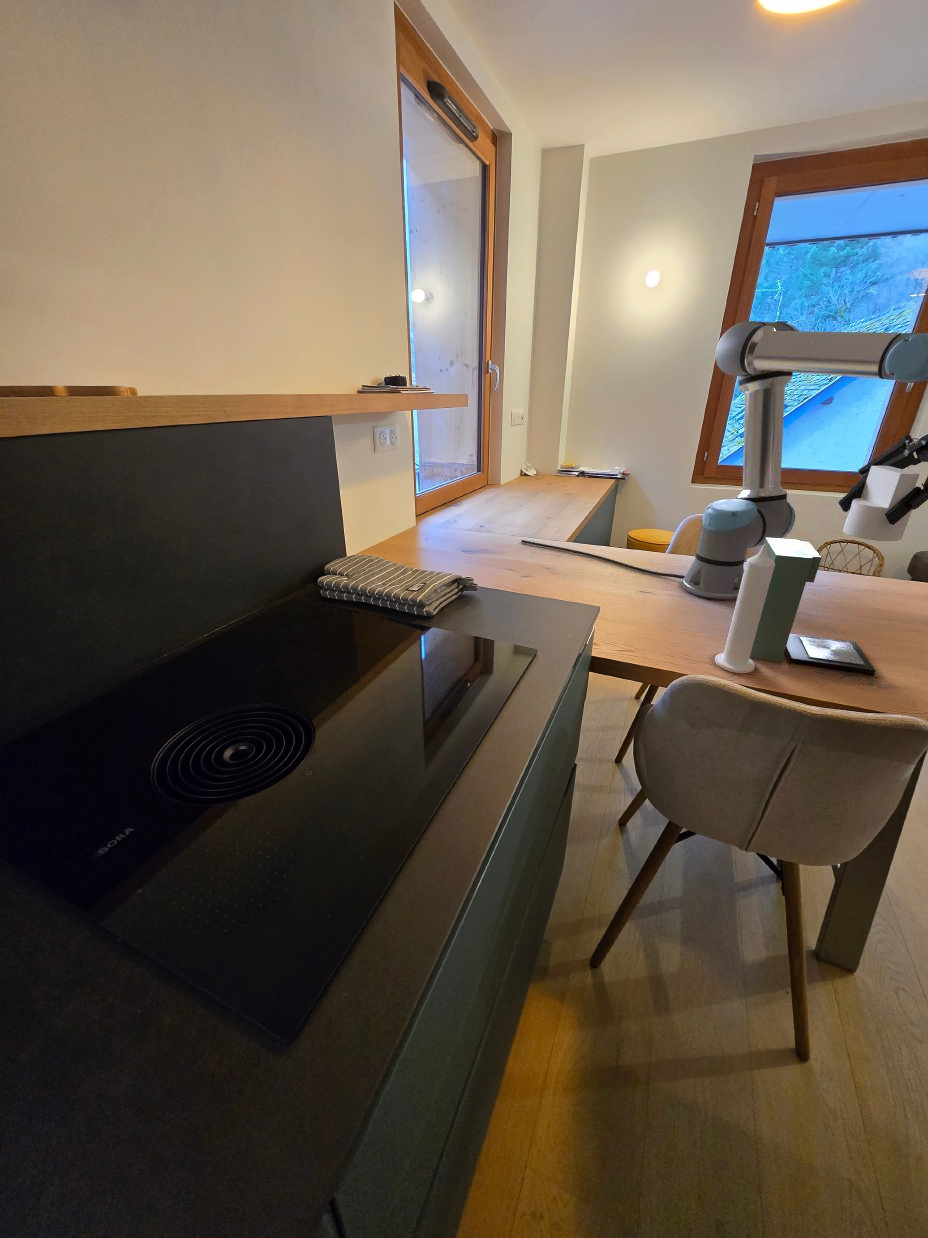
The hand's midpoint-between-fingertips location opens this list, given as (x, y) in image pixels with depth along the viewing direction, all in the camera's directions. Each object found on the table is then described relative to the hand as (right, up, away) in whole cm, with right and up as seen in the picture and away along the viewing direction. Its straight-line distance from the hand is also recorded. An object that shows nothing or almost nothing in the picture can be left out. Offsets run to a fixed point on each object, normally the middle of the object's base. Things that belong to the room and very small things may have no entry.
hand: (864, 512), depth 91 cm
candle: (-20, -29, +7) cm, 36 cm away
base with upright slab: (+3, -4, +2) cm, 6 cm away
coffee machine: (-4, -27, +11) cm, 29 cm away
